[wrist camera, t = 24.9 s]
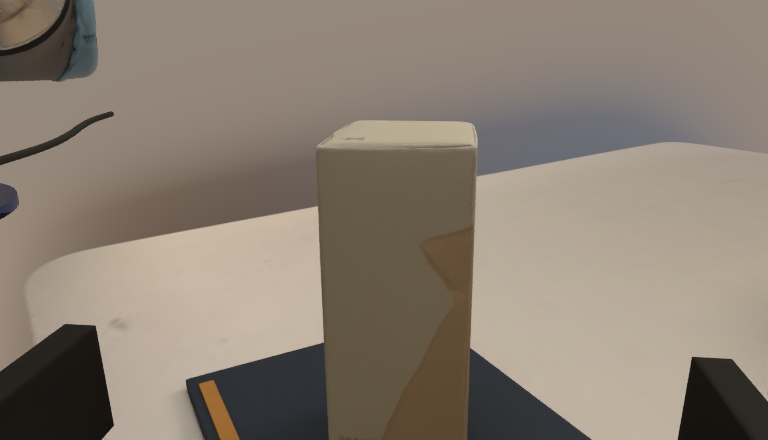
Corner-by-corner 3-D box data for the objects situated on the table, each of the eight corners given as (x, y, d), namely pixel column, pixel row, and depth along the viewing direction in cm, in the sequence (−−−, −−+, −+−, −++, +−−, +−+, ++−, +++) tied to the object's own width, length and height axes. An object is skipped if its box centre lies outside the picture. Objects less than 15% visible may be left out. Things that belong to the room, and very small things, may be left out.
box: (465, 510, 17) (480, 145, 14) (325, 497, 18) (307, 144, 15) (465, 404, 22) (475, 117, 19) (356, 397, 23) (347, 116, 19)
